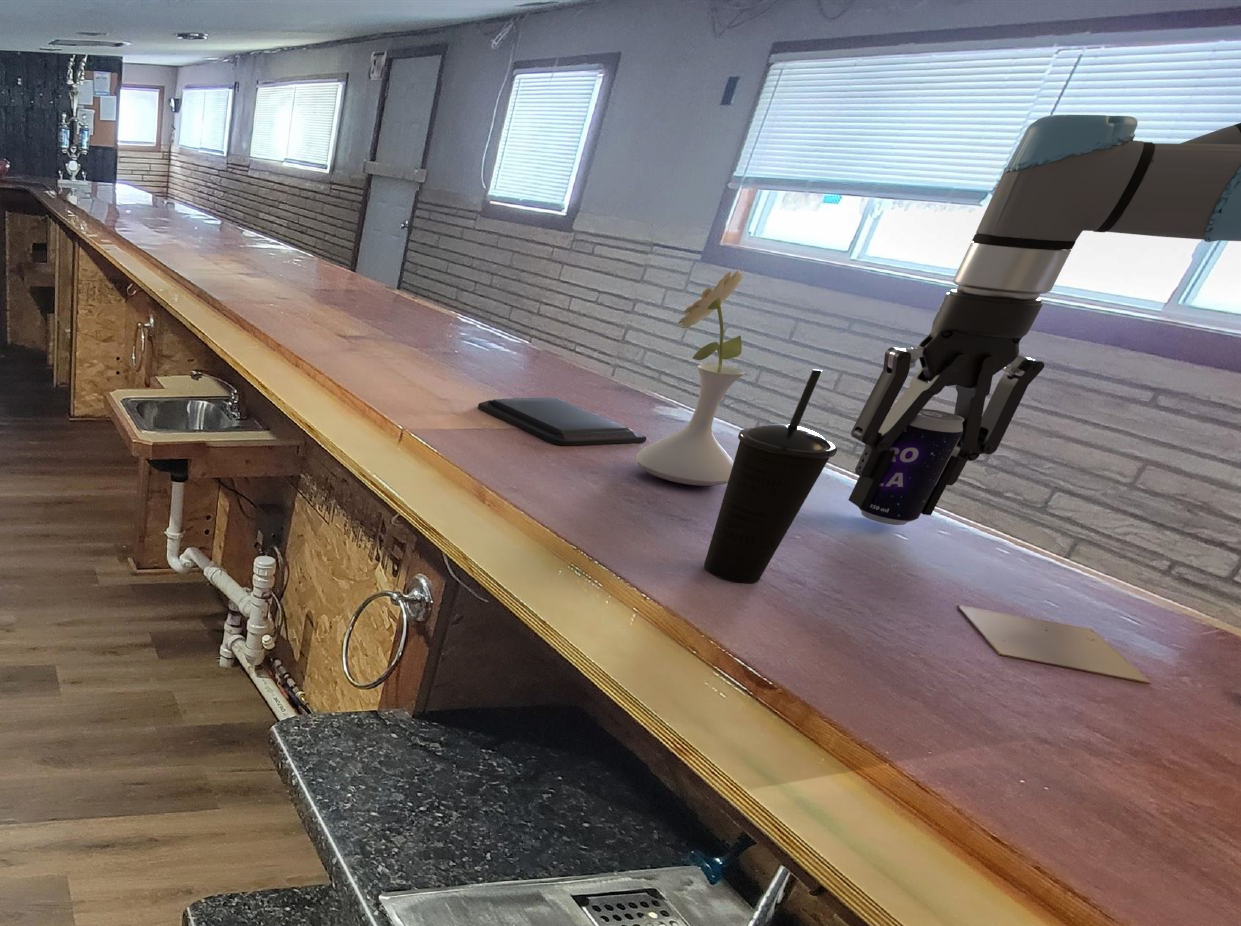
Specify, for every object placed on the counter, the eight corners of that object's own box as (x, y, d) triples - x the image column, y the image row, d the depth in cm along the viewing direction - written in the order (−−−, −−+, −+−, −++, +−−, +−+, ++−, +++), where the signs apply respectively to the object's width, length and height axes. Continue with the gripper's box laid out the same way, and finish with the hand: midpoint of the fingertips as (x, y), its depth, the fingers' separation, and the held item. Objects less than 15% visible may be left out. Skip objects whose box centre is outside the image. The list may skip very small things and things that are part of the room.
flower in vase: (680, 461, 120) (753, 262, 107) (753, 491, 110) (843, 277, 98) (601, 466, 116) (667, 262, 104) (669, 498, 107) (751, 277, 94)
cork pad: (1091, 630, 81) (1092, 628, 81) (1150, 684, 73) (1151, 682, 72) (956, 606, 84) (957, 604, 84) (999, 654, 76) (1000, 653, 76)
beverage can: (858, 504, 105) (907, 404, 99) (918, 519, 101) (972, 415, 95) (848, 516, 101) (898, 412, 95) (910, 531, 98) (966, 425, 92)
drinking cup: (693, 580, 87) (777, 373, 77) (682, 551, 93) (758, 356, 83) (784, 596, 84) (882, 385, 74) (766, 565, 90) (855, 366, 80)
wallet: (477, 394, 139) (562, 393, 142) (474, 406, 140) (559, 405, 143) (557, 433, 122) (652, 430, 125) (553, 446, 123) (647, 443, 126)
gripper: (1076, 293, 91) (961, 504, 102) (874, 280, 94) (784, 487, 105) (1133, 304, 85) (1003, 529, 96) (914, 290, 87) (814, 510, 99)
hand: (889, 507), depth 101 cm, fingers closed on beverage can, 6 cm apart
